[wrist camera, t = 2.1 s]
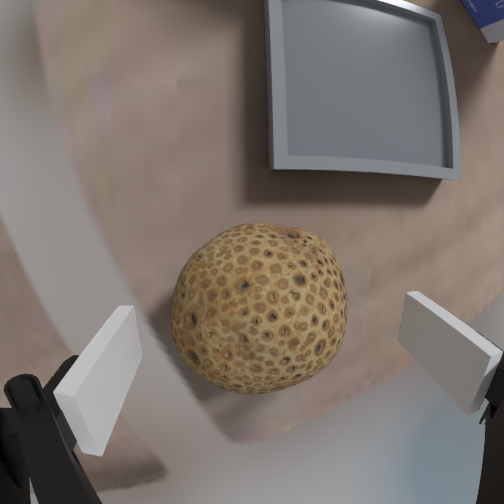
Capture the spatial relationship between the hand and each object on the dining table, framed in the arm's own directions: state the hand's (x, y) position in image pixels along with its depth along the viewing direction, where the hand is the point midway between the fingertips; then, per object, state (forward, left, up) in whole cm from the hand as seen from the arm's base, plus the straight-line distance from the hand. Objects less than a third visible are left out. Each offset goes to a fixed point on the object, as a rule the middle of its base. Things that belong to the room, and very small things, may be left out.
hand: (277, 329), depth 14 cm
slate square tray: (+8, +14, -7) cm, 18 cm away
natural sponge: (0, 0, -8) cm, 8 cm away
